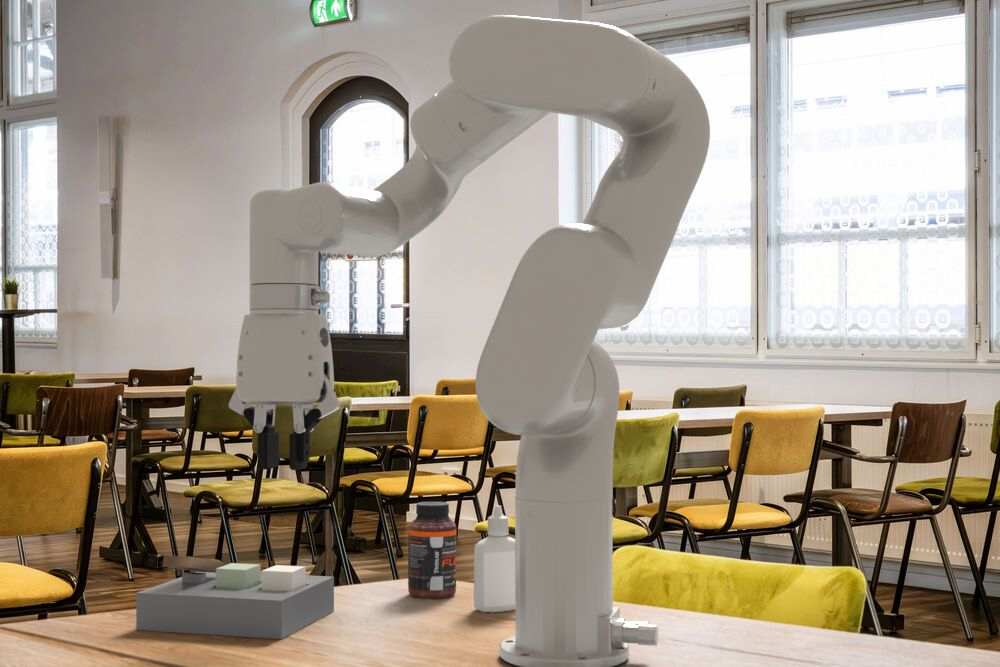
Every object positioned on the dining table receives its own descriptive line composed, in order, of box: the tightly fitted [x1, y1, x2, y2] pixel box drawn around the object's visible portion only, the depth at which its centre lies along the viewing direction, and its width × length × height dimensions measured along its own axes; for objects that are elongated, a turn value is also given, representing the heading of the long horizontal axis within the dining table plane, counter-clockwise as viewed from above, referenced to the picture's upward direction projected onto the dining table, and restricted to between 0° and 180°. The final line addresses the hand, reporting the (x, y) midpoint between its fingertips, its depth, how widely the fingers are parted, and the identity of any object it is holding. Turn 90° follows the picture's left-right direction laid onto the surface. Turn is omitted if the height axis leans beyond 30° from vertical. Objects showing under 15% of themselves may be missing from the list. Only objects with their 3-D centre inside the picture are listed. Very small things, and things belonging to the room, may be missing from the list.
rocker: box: [162, 554, 225, 573], centre depth 137 cm, size 3×8×1 cm, turn 165°
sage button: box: [216, 562, 262, 589], centre depth 136 cm, size 4×4×3 cm
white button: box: [261, 564, 307, 592], centre depth 134 cm, size 4×4×3 cm
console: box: [135, 571, 335, 640], centre depth 136 cm, size 17×14×5 cm
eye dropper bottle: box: [473, 504, 515, 613], centre depth 141 cm, size 4×6×12 cm
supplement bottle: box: [407, 501, 457, 600], centre depth 150 cm, size 6×6×11 cm
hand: (284, 467), depth 134 cm, fingers open, 2 cm apart
